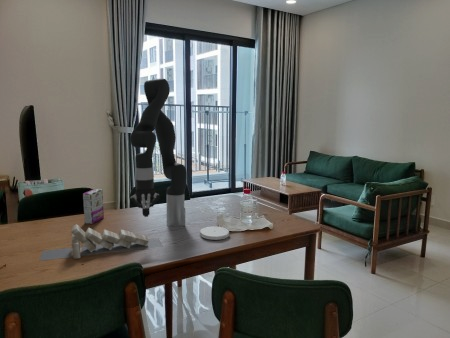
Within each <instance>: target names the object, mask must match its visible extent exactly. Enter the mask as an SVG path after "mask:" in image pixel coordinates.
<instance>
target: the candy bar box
mask: <svg viewBox="0 0 450 338" xmlns="http://www.w3.org/2000/svg"><path fill="white" fill-rule="evenodd" d="M103 197H104V196H103V189H102V188H94V189H91V190H89V191H86V192H84V193H82V202H83V213H84V215H83V217H84V218H83V219H84V224H87V225H94V224H96V223H97V222H99V221H101V220H102V219H104V218H105V217H104V216H105V215H104V214H105V213H104V198H103Z"/></svg>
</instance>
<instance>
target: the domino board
mask: <svg viewBox="0 0 450 338" xmlns="http://www.w3.org/2000/svg"><path fill="white" fill-rule="evenodd" d="M148 240H149V242H148V244H147V246H144V245H140V244H136V243H132V242H131V243H132V244H131V246H130V248H127V247H124V246H121V245H118V244H115V243H114V246H113V248H112V249H111V250H109V249H107V248H105V247H103V246H101V245H99V244H96V249H95V250H94V251H93V252H90V251H89V250H88V249H87V248H86V247H85V246H84V245H83V246H80V257H83V256H93V255H101V254H108V253H109V254H110V253H116V252H126V251H127V252H128V251H134V250H142V249H143V250H144V249H151V248H158V247H159V248H160V247H163V246H164V245H163V244H162V242H161V239H160V238H159V237H157V238H148ZM65 258H66V259H68V258H74V257H73V250H72V247H66V248H56V249H55V248H54V249H48V250H47V249H46V250H42V252H41V255H40V258H39V262H41V261H42V262H43V261H51V260H58V259H65Z"/></svg>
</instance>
